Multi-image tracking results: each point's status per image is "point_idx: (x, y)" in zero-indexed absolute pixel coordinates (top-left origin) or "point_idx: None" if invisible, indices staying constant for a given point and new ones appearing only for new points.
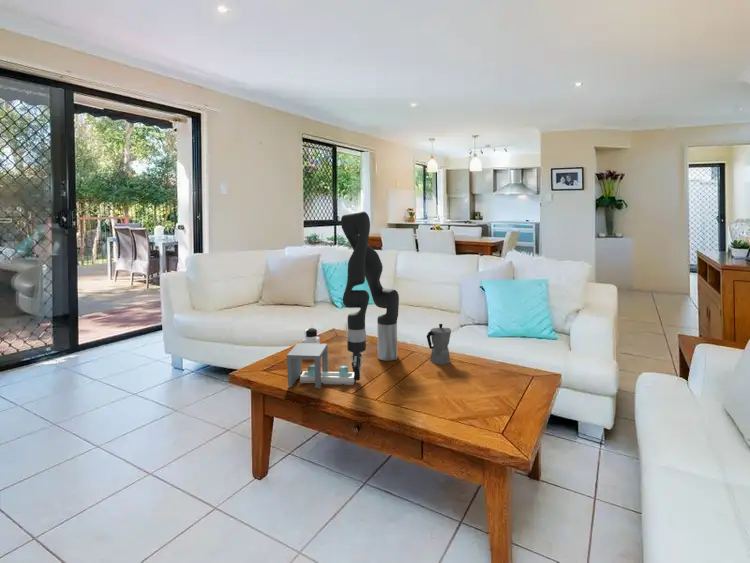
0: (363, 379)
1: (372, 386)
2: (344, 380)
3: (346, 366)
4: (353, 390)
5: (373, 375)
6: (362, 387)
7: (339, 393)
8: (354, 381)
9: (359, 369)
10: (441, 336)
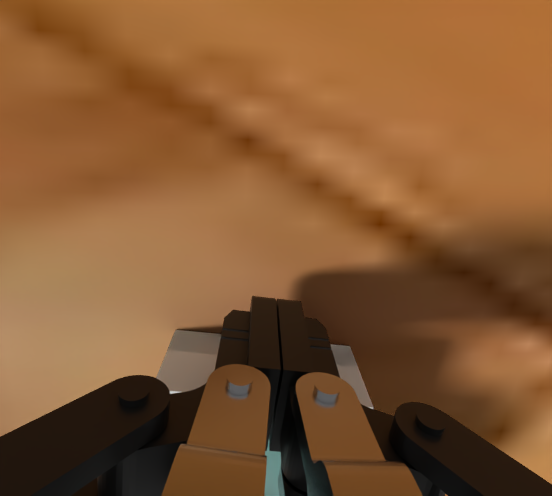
0: (179, 234)
1: (438, 118)
2: None
3: None
4: (507, 344)
5: (8, 81)
6: (444, 249)
7: (543, 459)
8: None
9: (366, 417)
10: None
